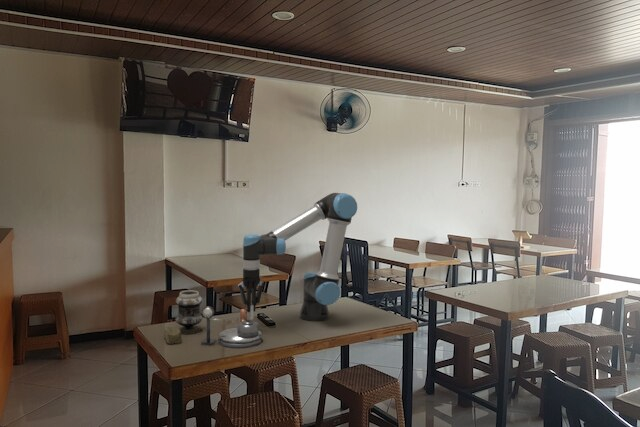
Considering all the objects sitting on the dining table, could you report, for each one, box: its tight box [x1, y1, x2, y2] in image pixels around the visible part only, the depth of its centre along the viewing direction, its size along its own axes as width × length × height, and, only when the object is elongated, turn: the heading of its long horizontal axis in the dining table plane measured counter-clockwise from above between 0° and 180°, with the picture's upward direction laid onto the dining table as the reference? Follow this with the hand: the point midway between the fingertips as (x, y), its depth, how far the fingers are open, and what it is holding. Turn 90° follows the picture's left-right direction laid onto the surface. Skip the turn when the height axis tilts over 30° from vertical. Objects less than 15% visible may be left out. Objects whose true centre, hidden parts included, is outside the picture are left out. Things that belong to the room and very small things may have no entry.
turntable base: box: [217, 334, 263, 349], centre depth 212 cm, size 19×19×2 cm
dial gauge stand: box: [200, 305, 222, 346], centre depth 207 cm, size 8×5×16 cm, turn 89°
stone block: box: [164, 325, 182, 345], centre depth 211 cm, size 6×12×5 cm, turn 26°
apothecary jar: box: [174, 289, 203, 335], centre depth 223 cm, size 12×12×18 cm
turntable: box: [218, 308, 262, 343], centre depth 213 cm, size 18×22×9 cm
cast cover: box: [236, 319, 260, 339], centre depth 209 cm, size 9×9×6 cm
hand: (251, 318), depth 225 cm, fingers closed
